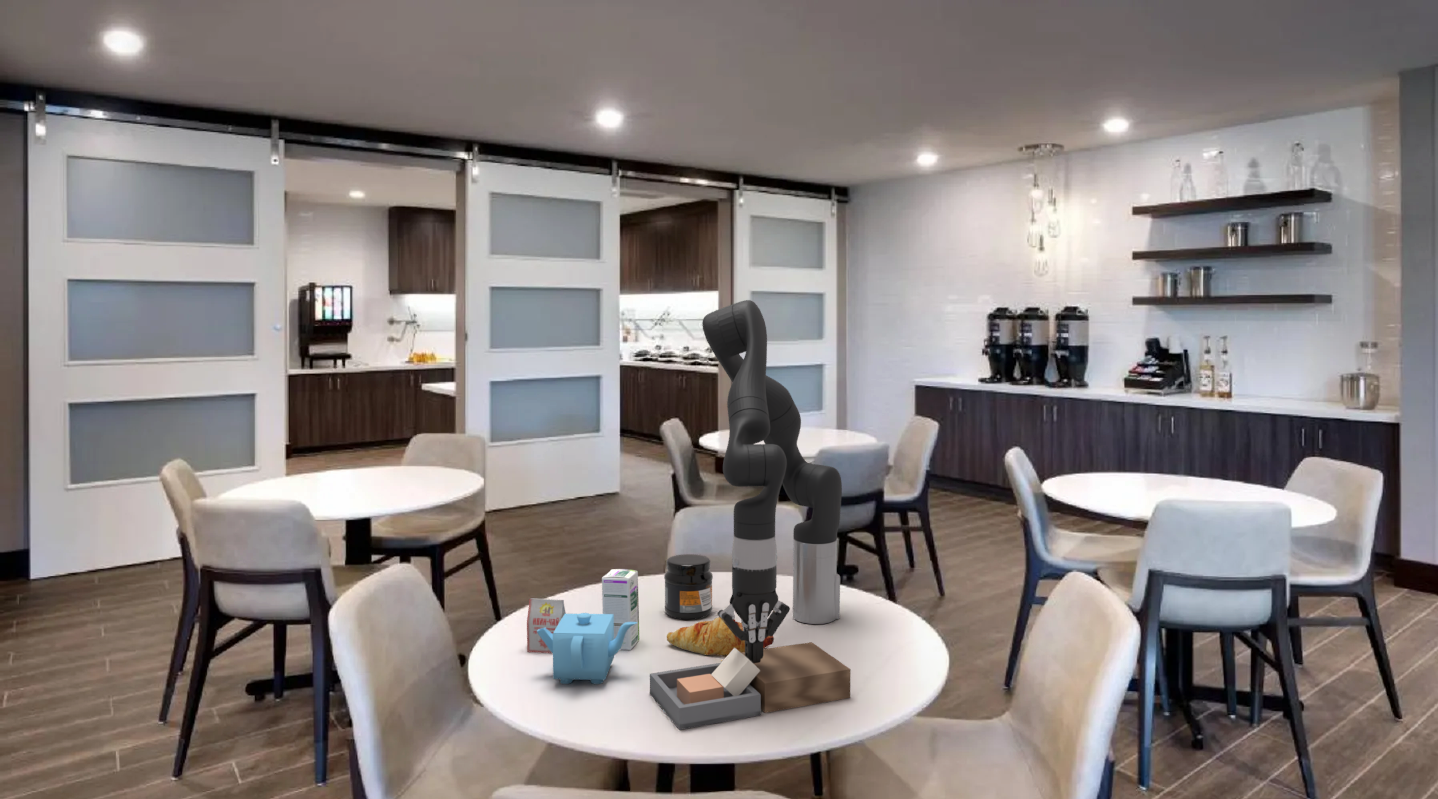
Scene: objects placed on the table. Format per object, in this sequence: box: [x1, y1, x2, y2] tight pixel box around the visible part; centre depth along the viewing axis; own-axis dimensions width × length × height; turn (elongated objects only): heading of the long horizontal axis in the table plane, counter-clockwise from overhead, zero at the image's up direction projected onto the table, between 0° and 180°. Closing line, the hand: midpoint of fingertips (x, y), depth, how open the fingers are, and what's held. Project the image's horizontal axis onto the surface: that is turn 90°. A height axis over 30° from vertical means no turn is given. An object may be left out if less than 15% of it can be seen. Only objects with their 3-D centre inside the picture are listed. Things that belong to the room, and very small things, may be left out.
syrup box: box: [601, 568, 640, 651], centre depth 179 cm, size 6×6×14 cm
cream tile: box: [711, 648, 760, 696], centre depth 153 cm, size 6×6×3 cm
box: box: [649, 662, 762, 731], centre depth 152 cm, size 14×15×4 cm
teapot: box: [537, 612, 637, 685], centre depth 164 cm, size 16×18×11 cm
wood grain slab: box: [742, 641, 852, 714], centre depth 158 cm, size 16×14×5 cm
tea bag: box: [526, 598, 567, 654], centre depth 177 cm, size 4×7×10 cm, turn 81°
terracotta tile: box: [677, 674, 724, 705], centre depth 152 cm, size 6×6×3 cm
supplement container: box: [663, 553, 714, 621], centre depth 198 cm, size 10×10×12 cm
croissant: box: [666, 616, 775, 656], centre depth 178 cm, size 21×10×8 cm
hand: (753, 661), depth 155 cm, fingers closed
